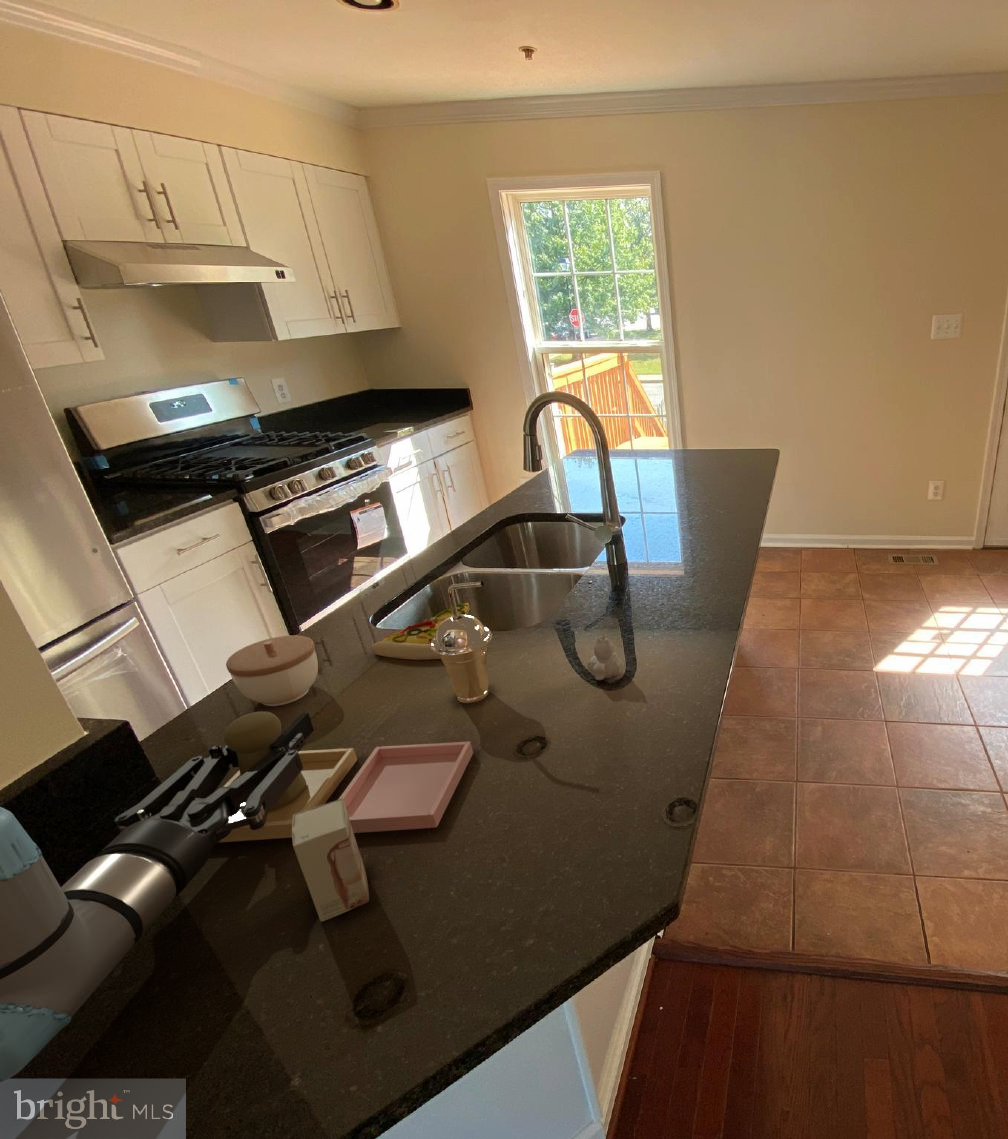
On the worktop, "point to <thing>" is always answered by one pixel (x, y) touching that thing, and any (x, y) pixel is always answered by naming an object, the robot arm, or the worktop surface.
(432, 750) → the pink tray
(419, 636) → the pizza slice
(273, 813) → the birch tray
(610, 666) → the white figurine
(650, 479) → the worktop surface
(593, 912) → the worktop surface
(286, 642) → the trinket box
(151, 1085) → the worktop surface
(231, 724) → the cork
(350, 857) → the white carton
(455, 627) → the cup with straw
